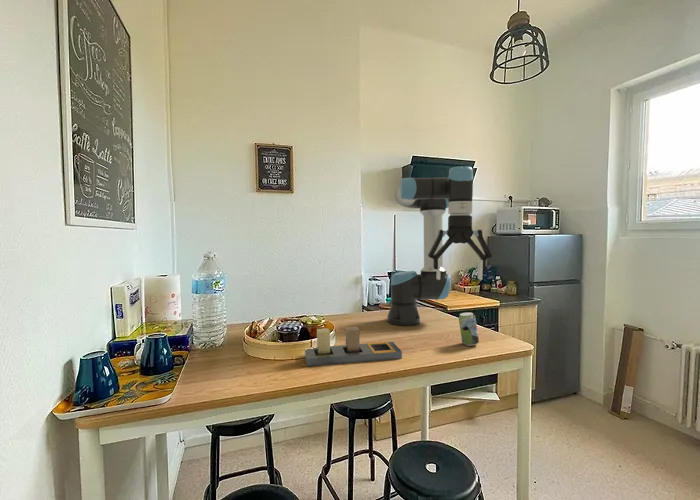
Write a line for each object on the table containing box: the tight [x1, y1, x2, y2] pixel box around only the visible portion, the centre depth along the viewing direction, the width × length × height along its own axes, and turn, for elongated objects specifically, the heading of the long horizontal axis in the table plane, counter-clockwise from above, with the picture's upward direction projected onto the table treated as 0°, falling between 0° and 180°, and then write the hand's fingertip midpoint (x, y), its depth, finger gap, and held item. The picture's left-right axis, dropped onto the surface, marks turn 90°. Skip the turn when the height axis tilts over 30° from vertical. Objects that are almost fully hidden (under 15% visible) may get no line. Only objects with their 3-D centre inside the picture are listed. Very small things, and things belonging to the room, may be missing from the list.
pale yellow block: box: [316, 327, 331, 356], centre depth 117 cm, size 4×4×10 cm
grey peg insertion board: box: [304, 341, 403, 367], centre depth 120 cm, size 10×32×3 cm, turn 101°
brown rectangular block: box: [345, 326, 360, 353], centre depth 119 cm, size 4×4×10 cm
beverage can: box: [458, 312, 480, 347], centre depth 131 cm, size 6×7×12 cm
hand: (459, 279), depth 116 cm, fingers open, 13 cm apart
